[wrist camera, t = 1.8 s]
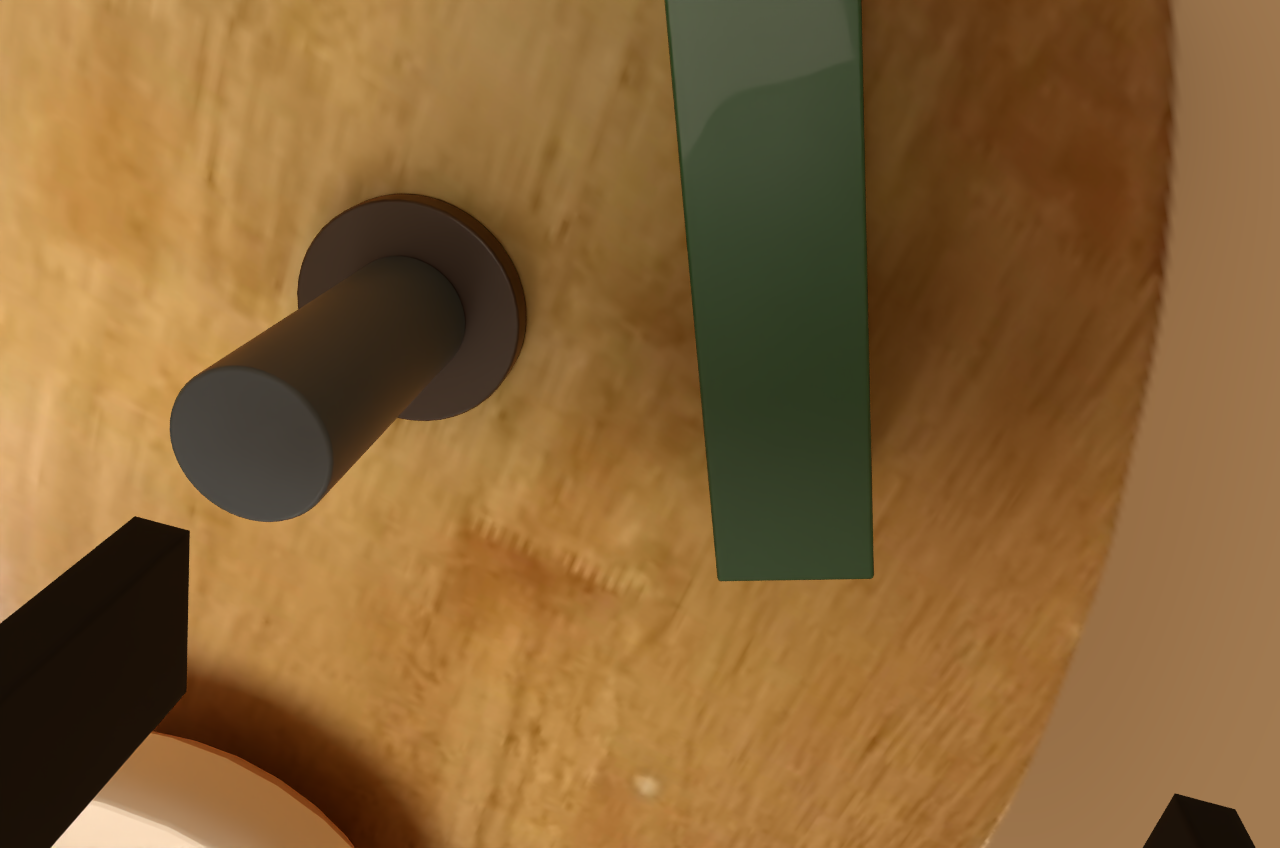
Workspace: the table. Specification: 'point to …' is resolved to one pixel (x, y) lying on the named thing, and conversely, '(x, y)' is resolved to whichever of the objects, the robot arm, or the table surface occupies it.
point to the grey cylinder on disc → (353, 356)
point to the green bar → (778, 278)
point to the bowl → (197, 804)
